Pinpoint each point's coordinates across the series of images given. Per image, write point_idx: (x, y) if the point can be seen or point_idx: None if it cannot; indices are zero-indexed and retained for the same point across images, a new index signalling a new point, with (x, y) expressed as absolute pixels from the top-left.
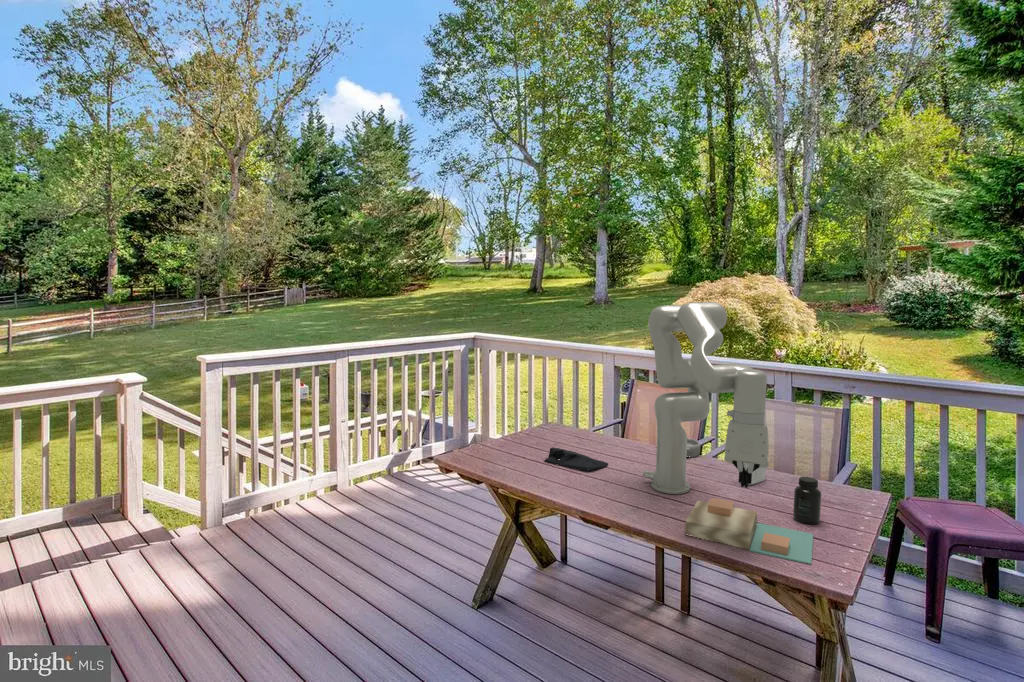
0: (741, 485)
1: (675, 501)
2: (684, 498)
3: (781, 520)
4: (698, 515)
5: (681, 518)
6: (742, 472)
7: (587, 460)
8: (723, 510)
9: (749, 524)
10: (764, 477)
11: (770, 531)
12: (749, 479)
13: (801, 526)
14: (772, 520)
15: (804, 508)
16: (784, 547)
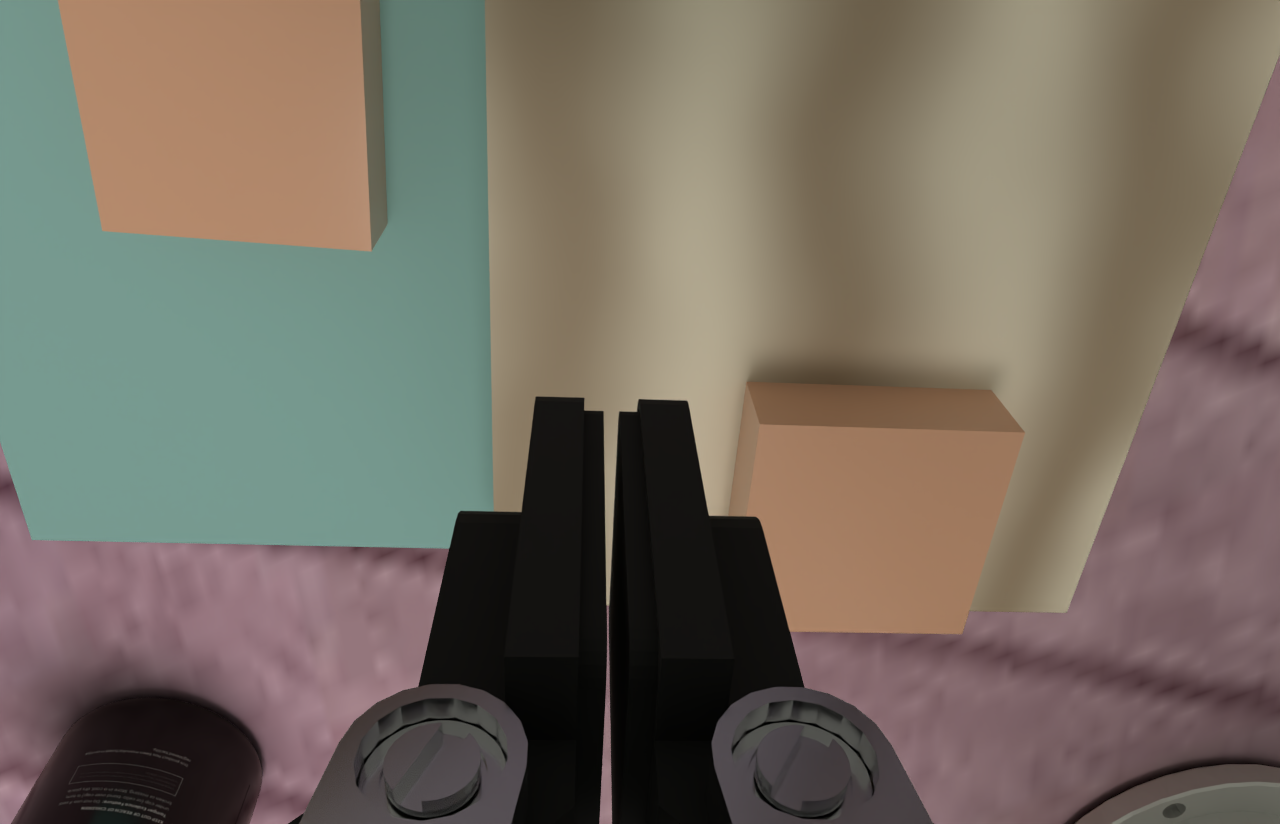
0: (676, 407)
1: (1174, 669)
2: (1091, 741)
3: (334, 679)
4: (1105, 253)
5: (1168, 377)
6: (705, 664)
7: None
8: (835, 413)
9: (527, 257)
10: None
11: (367, 429)
12: (486, 577)
13: (169, 643)
14: (399, 653)
15: (107, 804)
16: None
